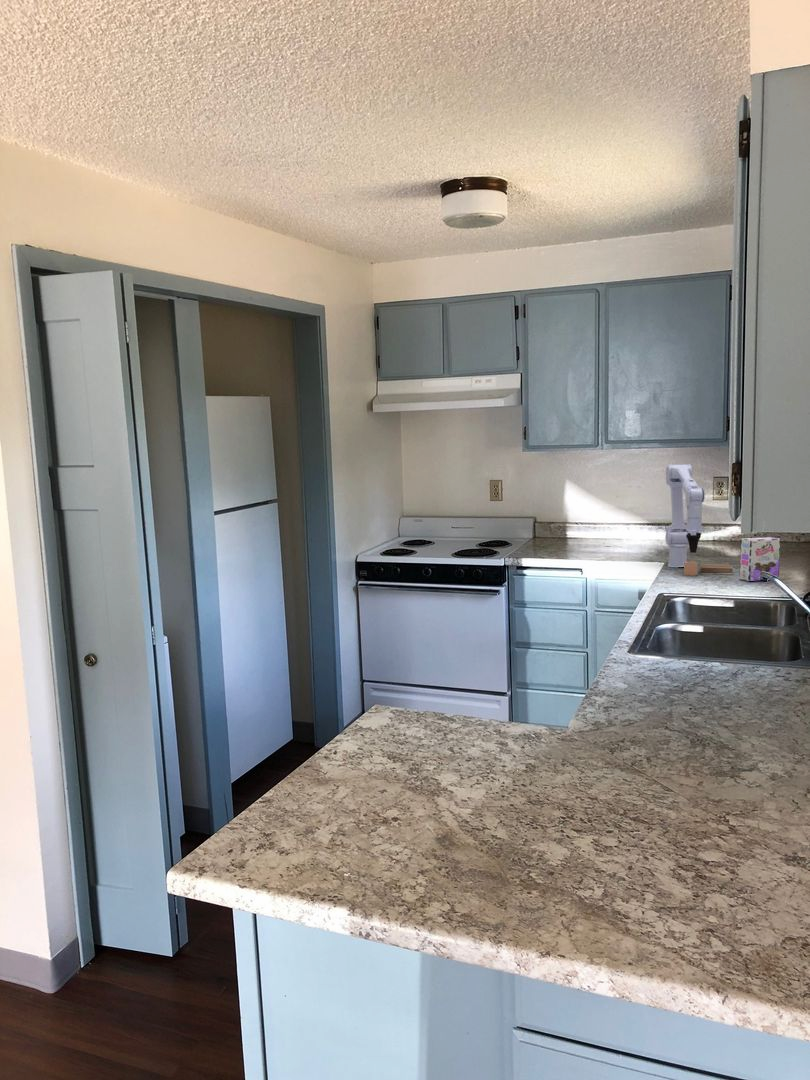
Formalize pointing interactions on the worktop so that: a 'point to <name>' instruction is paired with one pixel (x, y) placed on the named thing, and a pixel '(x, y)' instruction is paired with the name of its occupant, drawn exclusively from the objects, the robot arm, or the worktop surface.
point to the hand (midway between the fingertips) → (693, 551)
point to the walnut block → (715, 568)
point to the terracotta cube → (690, 568)
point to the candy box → (759, 557)
